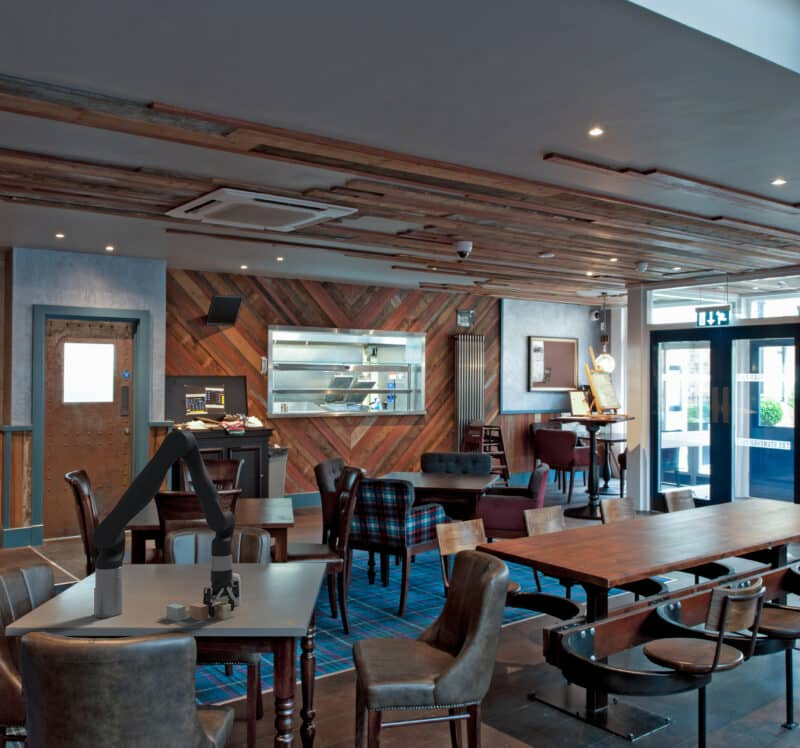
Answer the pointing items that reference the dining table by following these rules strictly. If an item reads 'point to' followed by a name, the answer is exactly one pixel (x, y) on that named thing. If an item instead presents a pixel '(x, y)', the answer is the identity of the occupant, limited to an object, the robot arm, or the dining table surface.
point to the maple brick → (222, 610)
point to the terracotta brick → (198, 611)
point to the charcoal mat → (194, 621)
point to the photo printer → (224, 598)
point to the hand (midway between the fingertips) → (221, 613)
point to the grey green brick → (175, 612)
